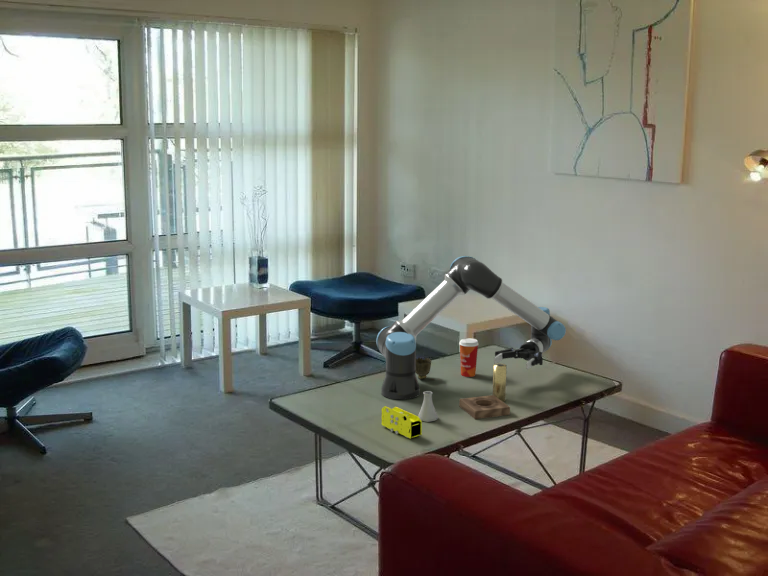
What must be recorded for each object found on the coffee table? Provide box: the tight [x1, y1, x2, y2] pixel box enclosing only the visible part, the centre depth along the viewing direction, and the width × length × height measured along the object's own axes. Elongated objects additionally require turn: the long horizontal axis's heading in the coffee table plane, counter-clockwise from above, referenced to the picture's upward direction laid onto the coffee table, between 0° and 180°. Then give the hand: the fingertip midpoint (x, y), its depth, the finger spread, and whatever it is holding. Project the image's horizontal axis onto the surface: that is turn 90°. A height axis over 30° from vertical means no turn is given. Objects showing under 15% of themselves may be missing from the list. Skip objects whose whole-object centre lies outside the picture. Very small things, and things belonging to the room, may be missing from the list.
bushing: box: [491, 362, 507, 403], centre depth 324 cm, size 5×5×14 cm
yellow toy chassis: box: [381, 405, 423, 440], centre depth 293 cm, size 16×6×8 cm, turn 38°
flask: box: [417, 390, 439, 423], centre depth 305 cm, size 7×7×10 cm
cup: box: [415, 357, 432, 380], centre depth 351 cm, size 8×7×8 cm
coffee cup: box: [458, 337, 480, 378], centre depth 355 cm, size 8×8×15 cm
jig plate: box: [458, 394, 511, 420], centre depth 314 cm, size 14×14×3 cm
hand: (510, 363), depth 331 cm, fingers open, 13 cm apart
